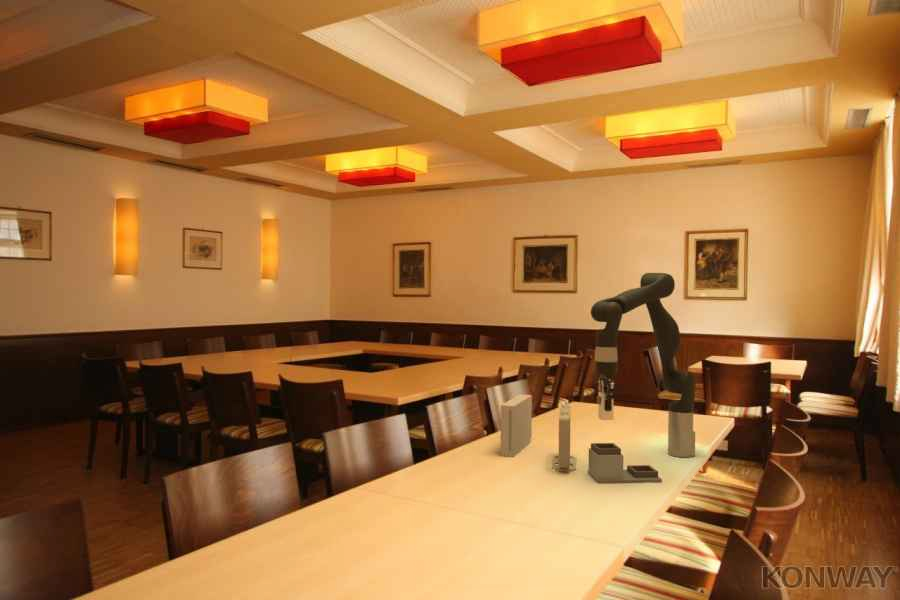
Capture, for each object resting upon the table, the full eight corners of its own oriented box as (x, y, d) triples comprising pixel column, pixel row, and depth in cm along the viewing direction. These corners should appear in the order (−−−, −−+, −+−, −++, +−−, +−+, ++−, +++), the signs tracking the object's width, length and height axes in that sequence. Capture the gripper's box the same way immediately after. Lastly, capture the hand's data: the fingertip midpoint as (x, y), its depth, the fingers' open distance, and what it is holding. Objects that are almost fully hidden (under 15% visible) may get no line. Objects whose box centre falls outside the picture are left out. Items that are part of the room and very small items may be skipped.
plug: (609, 417, 216) (609, 391, 216) (613, 419, 212) (613, 393, 212) (596, 417, 216) (596, 391, 216) (599, 420, 212) (599, 393, 212)
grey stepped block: (648, 471, 222) (648, 441, 222) (662, 482, 210) (662, 449, 210) (587, 472, 220) (587, 441, 220) (597, 483, 208) (598, 450, 208)
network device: (575, 474, 219) (576, 417, 218) (550, 472, 220) (551, 416, 220) (576, 455, 244) (576, 404, 243) (553, 454, 245) (553, 403, 245)
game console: (499, 456, 243) (499, 405, 243) (518, 440, 268) (518, 394, 268) (513, 457, 241) (513, 406, 240) (531, 441, 266) (531, 395, 266)
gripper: (624, 362, 207) (623, 413, 207) (610, 357, 221) (610, 405, 222) (601, 362, 207) (601, 413, 207) (589, 357, 221) (589, 405, 221)
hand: (605, 409), depth 214 cm, fingers closed on plug, 4 cm apart
